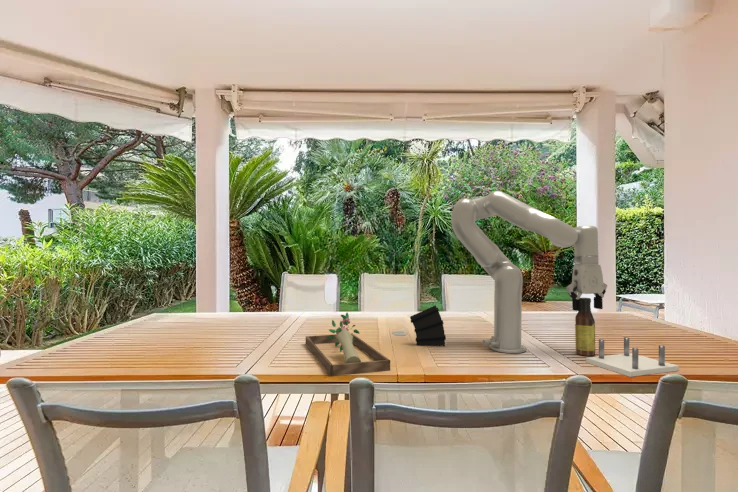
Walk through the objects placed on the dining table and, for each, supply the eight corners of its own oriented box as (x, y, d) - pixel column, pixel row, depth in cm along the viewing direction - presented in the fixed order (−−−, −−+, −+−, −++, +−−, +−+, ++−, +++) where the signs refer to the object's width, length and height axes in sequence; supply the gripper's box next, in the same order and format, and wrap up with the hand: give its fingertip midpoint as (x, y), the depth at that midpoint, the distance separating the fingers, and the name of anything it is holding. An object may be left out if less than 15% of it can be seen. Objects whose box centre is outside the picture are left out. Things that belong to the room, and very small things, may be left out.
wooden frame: (330, 376, 122) (330, 365, 122) (305, 344, 160) (305, 336, 160) (390, 370, 128) (390, 360, 128) (352, 340, 166) (352, 333, 166)
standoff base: (630, 376, 123) (630, 351, 123) (585, 362, 138) (585, 339, 138) (678, 370, 129) (678, 346, 129) (631, 357, 144) (631, 335, 144)
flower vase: (341, 394, 128) (328, 342, 161) (379, 380, 130) (359, 332, 163) (330, 361, 125) (320, 315, 158) (369, 347, 126) (351, 305, 160)
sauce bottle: (599, 356, 145) (599, 299, 145) (582, 356, 144) (582, 299, 144) (587, 351, 152) (588, 296, 151) (571, 352, 151) (571, 296, 151)
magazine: (453, 342, 157) (436, 306, 158) (421, 356, 159) (405, 320, 160) (453, 340, 161) (436, 304, 162) (421, 353, 163) (405, 318, 163)
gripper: (575, 262, 142) (576, 312, 141) (614, 260, 147) (615, 309, 147) (558, 261, 149) (559, 309, 149) (596, 260, 154) (597, 306, 154)
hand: (587, 309), depth 148 cm, fingers open, 9 cm apart
